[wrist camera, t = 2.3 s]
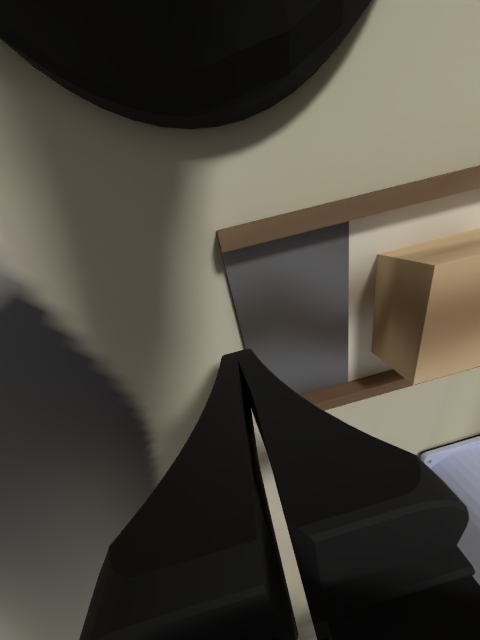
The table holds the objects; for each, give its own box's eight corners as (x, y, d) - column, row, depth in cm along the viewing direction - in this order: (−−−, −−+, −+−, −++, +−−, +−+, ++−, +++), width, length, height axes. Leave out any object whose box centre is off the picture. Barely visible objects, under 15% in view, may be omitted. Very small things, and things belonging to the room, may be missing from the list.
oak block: (476, 322, 14) (543, 348, 11) (371, 351, 13) (413, 385, 11) (507, 220, 11) (605, 220, 8) (377, 254, 11) (434, 265, 8)
